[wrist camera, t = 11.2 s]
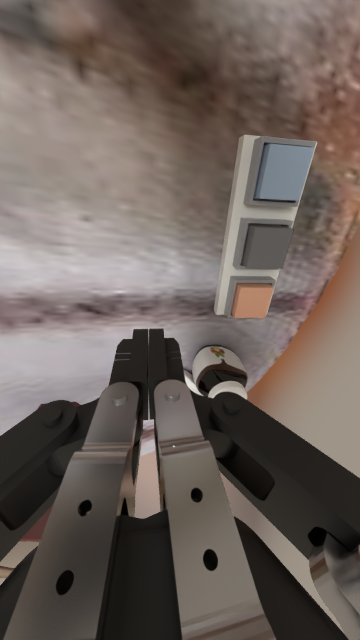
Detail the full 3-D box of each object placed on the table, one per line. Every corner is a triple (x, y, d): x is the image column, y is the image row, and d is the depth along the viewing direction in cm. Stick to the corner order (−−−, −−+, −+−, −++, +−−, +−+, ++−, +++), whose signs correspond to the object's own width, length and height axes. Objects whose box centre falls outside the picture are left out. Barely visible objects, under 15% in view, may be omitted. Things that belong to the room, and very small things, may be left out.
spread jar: (240, 348, 48) (263, 389, 38) (219, 383, 53) (234, 428, 43) (190, 337, 45) (201, 378, 35) (172, 375, 50) (178, 421, 40)
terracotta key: (235, 282, 37) (240, 287, 34) (267, 282, 37) (273, 287, 35) (230, 311, 39) (234, 318, 37) (259, 311, 40) (265, 317, 38)
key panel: (239, 138, 29) (250, 130, 26) (307, 144, 30) (327, 138, 27) (213, 309, 42) (219, 320, 39) (262, 309, 43) (271, 319, 40)
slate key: (261, 147, 27) (270, 143, 25) (302, 150, 28) (314, 147, 26) (251, 197, 30) (259, 198, 28) (289, 199, 31) (299, 200, 29)
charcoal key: (248, 224, 31) (255, 227, 29) (284, 226, 32) (294, 228, 30) (241, 263, 34) (247, 268, 32) (274, 264, 35) (282, 268, 33)
